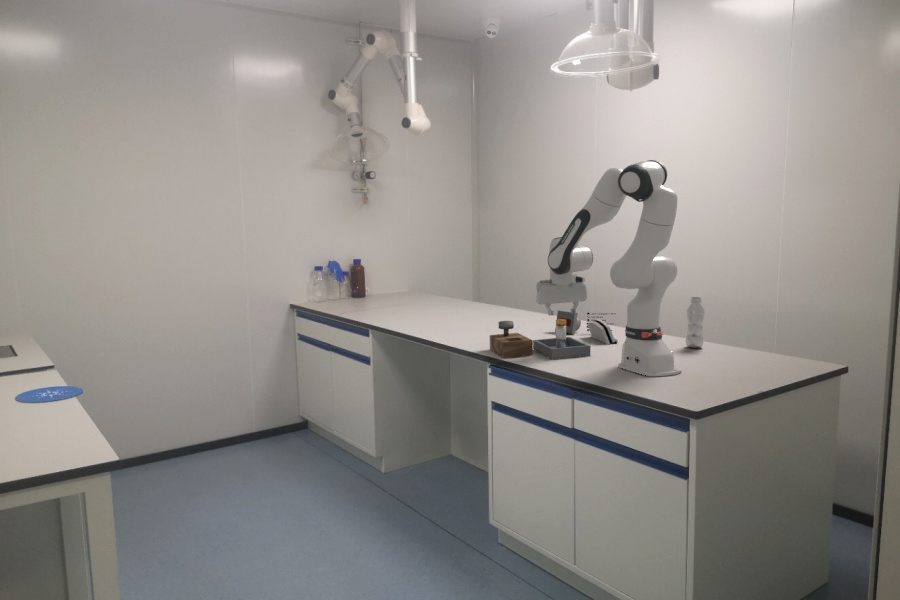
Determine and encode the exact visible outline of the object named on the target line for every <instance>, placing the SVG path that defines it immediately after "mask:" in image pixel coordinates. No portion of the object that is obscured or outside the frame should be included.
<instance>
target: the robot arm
mask: <svg viewBox="0 0 900 600" xmlns="http://www.w3.org/2000/svg"><path fill="white" fill-rule="evenodd" d="M667 179H668V170H667V168H666V166H665V165H664V164H663V163H662V162H660V161H659V160H655V159H654V160H652V159H650V160H649V159H648V160H646V161H643V160H642V161H638V162H635V163H633V164H629V165H627V166H626V167H625V168H623V169H621V168H619V167H611V168H609V169H607V170H606V171H605V172H604V173H603V175H602V176H601V177H600V179H599V181H598V182H597V183H596V186H595V187H594V189H593V191H592V193H591V195H590V197H589V198H588V200H587V201H586V203H585V205H584V206H582V208H581V209H580V210H579V211H578V212H577V213H576V214H575V215H574V217H573V219H571V221H570V223H569V224H568V226H567V228H566V229H565V231H564V233H563V234H562V236H561V237H560V236H559V237H554V238H553V239H552V240H551V241H550V242H549V252H548V256H547V265H548V267H549V279H545V280H543V279H542V280H539V281H538V282H537V283H536V285H535V286H536V288H535V289H536V298H535V299H536V303H537V304H539V305H545V308H546V310H547V312H548V313H547V315H548V316H554V310H552V309H551V307H552V305H553V304H564V303H565V304H566V303H572V305H573V306H572V308H570V309H569V312H571V313H572V314H573V313H577V308H578V306H579V302H586V301H587V299H588V290H587V289H588V287H587V285H586V284H585V282H586V277H584V276H581V275H578V274H574V273H577V272H583V271H587V270H589V269H590V268H591V266H592V265H593V262H594V254H593V252H592V249H590V247H588V246H587V245H582V244H580V243H579V242H580V241H581V239H582V238H583V237H584V235H585V234H586V233H587V232H588V231H591V230H592V229H594V228H596V227H598V226H601V225H605V224H607V223H609V222H611V221H612V220H613V219H614V218H615V217H616V215H618V213H619V211H620V209H621V207H622V205H623V203H624V201H625V200H626V198H627V197H628V198H631V199H633V200H634V201H636V202H639V203H641V202H642V211H641V213H640V214H641V215H640V218H639V223H638V226H637V230H636V232H635V233H636V234H635V236H634V238H633V241H632V243H631V244H630V246H629V247H628V249H627V250H626V251H625V253H624V254H623V255H622V256H621V257H619V258H618V259H617V260H616V261H615V262H614V263H612V265H611V267H610V270H609V277H610V280H611V283H612V284H613V285H614V286H615V287H616V288H619V289H624V290H625V289H626V290H634V289H635V290H636V289H637V293H636V294H635V296H634V297H633V298H632V299H631V300H630V301H629V302H628V303H627V307H626V326H625V329H624V333H625V337H626V338H625V340H624V342H623V343H622V348H621V349H622V350H621V359H620V363H618V366H617V368H619V369H622V368H623V370H625V369H626V370H625V371H629V372H632V373H635V372H636V373H635V374H638V373H639V375H641V374H642V376H645V375H646V376H645V377H665V376H674V375H678V374H681V373H682V369H681V368H680V367H678V366H676V365H675V358H674V351H673V350H671V349H670V348H669V347H668V345H667V344H666V343H665V341H664V339H663V335H664V334H663V333H664V331H662V329H661V326H660V314H661V306H662V305H661V304H662V301H663V299H664V298H663V297H664V295H665V292H667V290H668V288H669V286H670V285H672V283H674V281H675V280H676V278H677V276H678V266H677V264H676V262H675V260H674V259H673V258H671V257H669V256H663V255H658V254H659V253H661V252H662V251H663V250H665V249H666V248H667V246H668V245H669V243H670V239H671V236H672V233H673V228H674V225H675V221H676V220H675V219H676V215H677V210H678V209H677V208H678V195H677V193H676V192H675V191H674V190H672V189H671V188H668V187H665V186H664V185H665V184H666V181H667ZM551 304H552V305H551Z"/></svg>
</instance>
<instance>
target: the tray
mask: <svg viewBox="0 0 900 600" xmlns="http://www.w3.org/2000/svg"><path fill="white" fill-rule="evenodd" d="M532 340H533V349H534V350H533V351H535V352H537V353H538V352H539V353H538V354H540V353H541V354H540V355H542V354H543V355H542V356H544V355H545V356H544V357H546V356H547V357H546V358H548V357H549V358H548V359H550V358H551V359H550V360H552V359H553V360H560V359H559V358H564V359H570V358H569V357H574V358H580V357H579V356H584V357H591V345H590V344H588V343H585V342H582V341H580V340H578V339H576V338H573V337H571V336H566V347H564V348H556V337H552V338H550V337H549V338H541V339H532Z"/></svg>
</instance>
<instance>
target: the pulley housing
mask: <svg viewBox="0 0 900 600" xmlns="http://www.w3.org/2000/svg"><path fill="white" fill-rule="evenodd" d="M498 329H499V330H503V333H500V334H489V350H490V351H491V352H493V353H495V354H496V355H498V356H499V357H502V358H503V359H509V358H519V357H530V356H529V355H532V356H534V352H533V351H534V350H533V340H534V339H530V338H529V337H527V336H525V335H523V334H520V333H518V332H510V331H509V330H512V329H514V321H512V320H500V321H498ZM509 332H510V333H509Z"/></svg>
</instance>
